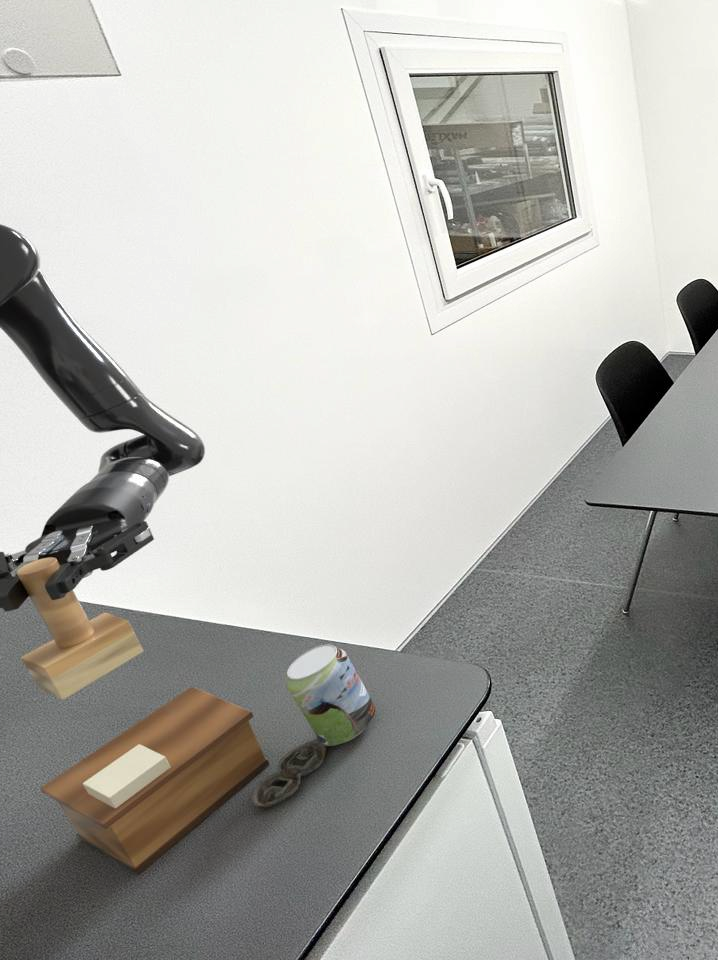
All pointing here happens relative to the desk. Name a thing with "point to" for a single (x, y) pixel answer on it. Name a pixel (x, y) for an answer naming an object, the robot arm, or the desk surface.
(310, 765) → the corroded twin loop
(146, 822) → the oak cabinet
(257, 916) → the desk surface
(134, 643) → the wooden stamp
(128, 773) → the cream soap bar
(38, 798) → the desk surface
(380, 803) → the desk surface
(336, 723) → the beverage can
